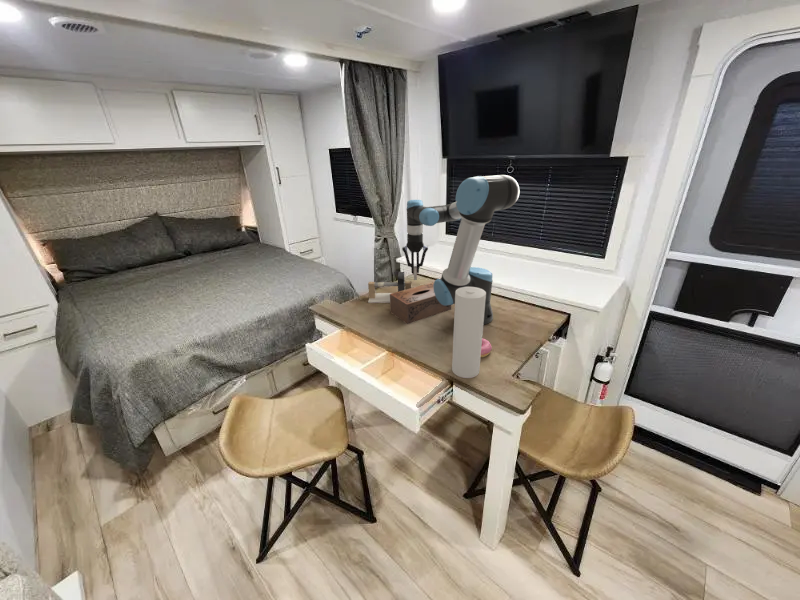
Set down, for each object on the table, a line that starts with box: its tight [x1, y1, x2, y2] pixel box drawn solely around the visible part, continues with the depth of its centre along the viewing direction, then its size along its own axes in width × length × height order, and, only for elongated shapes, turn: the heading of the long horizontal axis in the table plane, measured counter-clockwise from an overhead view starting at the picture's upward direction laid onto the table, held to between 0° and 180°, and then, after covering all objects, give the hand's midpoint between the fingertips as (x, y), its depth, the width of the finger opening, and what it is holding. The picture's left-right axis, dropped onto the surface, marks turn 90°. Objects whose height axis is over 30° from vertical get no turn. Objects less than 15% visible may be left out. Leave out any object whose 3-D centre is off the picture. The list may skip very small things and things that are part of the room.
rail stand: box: [367, 281, 412, 304], centre depth 172 cm, size 11×22×9 cm, turn 87°
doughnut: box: [480, 337, 493, 358], centre depth 125 cm, size 11×11×4 cm
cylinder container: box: [451, 287, 486, 379], centre depth 109 cm, size 9×9×30 cm
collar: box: [397, 271, 405, 292], centre depth 170 cm, size 10×3×10 cm, turn 177°
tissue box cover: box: [389, 281, 452, 325], centre depth 157 cm, size 26×14×10 cm, turn 123°
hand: (415, 279), depth 168 cm, fingers closed
